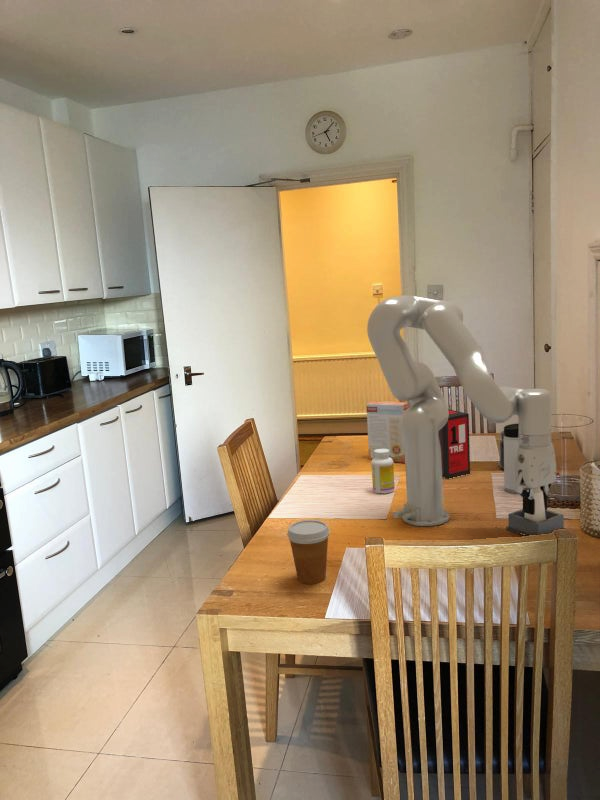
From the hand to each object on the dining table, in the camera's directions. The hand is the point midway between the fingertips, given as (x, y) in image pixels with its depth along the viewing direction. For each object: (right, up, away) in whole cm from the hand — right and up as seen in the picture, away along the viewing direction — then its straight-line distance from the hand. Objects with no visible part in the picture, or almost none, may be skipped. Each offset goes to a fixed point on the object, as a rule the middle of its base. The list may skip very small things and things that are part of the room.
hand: (534, 510), depth 165 cm
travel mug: (+5, +1, +31) cm, 32 cm away
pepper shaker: (0, -3, +1) cm, 3 cm away
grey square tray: (+1, -5, +1) cm, 5 cm away
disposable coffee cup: (-56, -13, -17) cm, 60 cm away
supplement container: (+12, +5, +52) cm, 54 cm away
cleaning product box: (-11, +4, +55) cm, 56 cm away
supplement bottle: (-33, -1, +39) cm, 51 cm away
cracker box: (-26, +6, +73) cm, 77 cm away
